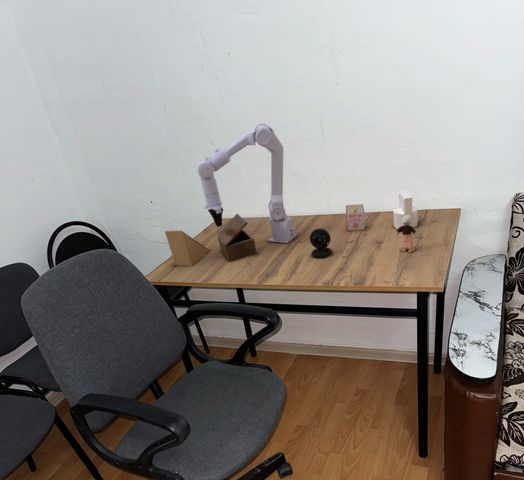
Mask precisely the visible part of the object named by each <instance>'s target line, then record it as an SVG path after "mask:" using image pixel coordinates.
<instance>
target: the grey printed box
mask: <svg viewBox="0 0 524 480" xmlns="http://www.w3.org/2000/svg"><path fill="white" fill-rule="evenodd" d="M364 208H365V207H364V204H362V203H358V204H346V205H345V221H346V222H345V223H346V224H345V225H346V231H347V232H353V231H354V232H355V231H358V232H359V231H365V229H366V214H365V209H364Z"/></svg>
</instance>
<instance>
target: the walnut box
mask: <svg viewBox="0 0 524 480" xmlns="http://www.w3.org/2000/svg"><path fill="white" fill-rule="evenodd" d="M217 241H218V244H219V248H220V251H221V253H222V254H223V255H224V257H225V258H226V259H227V261H228V262H229V263H230V262H233V261H236V260H240V259H243V258H247V257H249V256H253V255H255V254H257V248H256V244H255V238H254V237H252V236H251V234H250V233H248V232H247V230H245V229H244V228H243V229H242V230H241V231H240V232H239V234H238V235H237V236H236V237H235V238H234V239H233V240H232V241H231V242H230V243H229V244H228V245H227V246H225V245H224V244H223V242H222V241H221V240H220V239H219V237H218V236H217Z"/></svg>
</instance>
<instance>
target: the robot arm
mask: <svg viewBox="0 0 524 480" xmlns="http://www.w3.org/2000/svg"><path fill="white" fill-rule="evenodd" d="M256 143H257V145H259V146H261V147H263V148H265V149H266V150H267V151H268V152H270V154H271V155H270V200H269V202H268V206H267V207H268V211H269V218H268V219H269V224H270V230H271V236H272V237H271V238H269V239H268V242H272V243H282V244H283V243H284V244H288V243H289V242H291V241H292V240H293V239H295V238H296V237H297V236H298V234H296V233H297V232H296V226H295V221H294V219H292V218H290V217H288V215H287V214H286V209H285V206H284V197H283V196H284V195H283V193H284V146H283V143H282V142H281V140H280V139H279V137H278V136H277V134H276V133H275V131H274V129H272V128H271V127H270V126H269V125H267V124H266V123H260V124H258V125H256V127H253V128H251V129H250V130H248V131H247V132H245V133H244V134H243V135H242V136H240V137H238V139H236V140H235V141H234V142H233V143H231V144H230V145H229V146H228V147H227V148H222V147H221V148H216V149H215V150H214V152H213V153H212V154H211V155H210V156H206V157H205V158H204V160H202V161H200V163H199V164H198V166H197V173H198V176H199V177H200V181H201V187H202V190H203V191H202V192H203V194H204V195H203V196H204V198H205V203H206V204H205V205H204V206H203V207H204V209H207V211H208V214H209V215H210V216H211V217H212V220H213V221H214V224H215V226H216V227H217V228H219V227H222V226H223V212H224V209H223V207H222V206H223V205H222V204H223V203H222V201H221V195H220V192H219V188H218V183H217V180H216V178H215V174H214V172H218V171H219V170H220V169H222V168H223V167H225V166H226V165H228V164H229V163H230V162H231V157H232V156H234V155H235V154H237V153H238V152H240V151H241V150H243V149H244V148H246V147H247V146H256Z"/></svg>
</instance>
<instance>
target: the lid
mask: <svg viewBox="0 0 524 480" xmlns="http://www.w3.org/2000/svg"><path fill="white" fill-rule="evenodd" d="M248 224H249V223H248V222H247V220H245V219H244V218H242V216H240V215H239V214H238V213H236V214H235V215H234V216H233V217H232V219H230V221H229V222H228V223H226V225H225V226H224V227H223V228H222V229H221V230H220V231H219V232H218V233H217V235H216V236H217V238H218V237H219V239H220V240H221V241H222V242H223V244H224V245H225V246H227V245H228V244H229V243H230V242H231V241H232V240H233V239H234V238H235V237H236V236H237V235H238V234H239V232H240V231H241V230H243V229H244V228H246V226H247V225H248Z"/></svg>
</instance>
